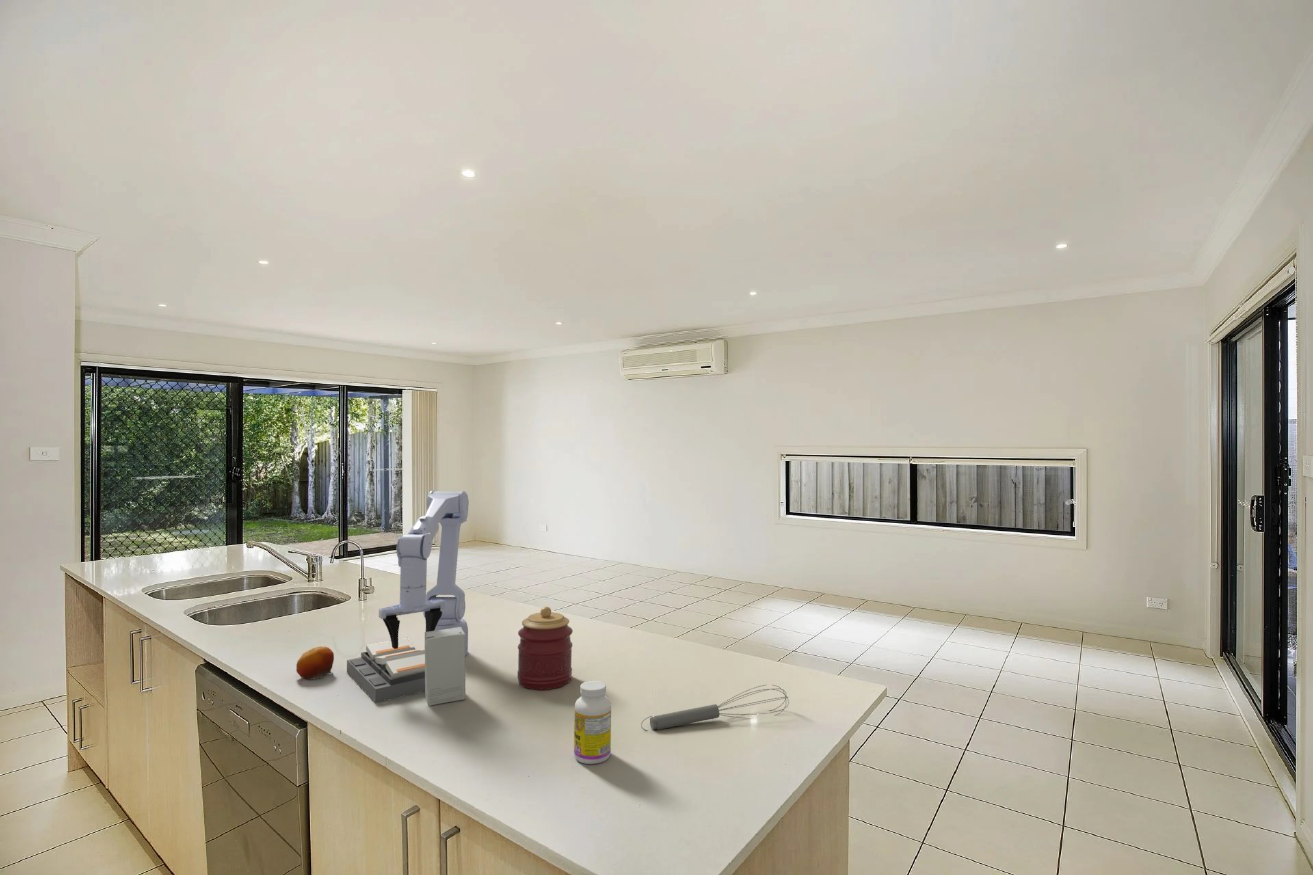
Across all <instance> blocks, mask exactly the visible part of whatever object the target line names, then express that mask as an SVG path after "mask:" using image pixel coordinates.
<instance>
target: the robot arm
mask: <svg viewBox="0 0 1313 875" xmlns="http://www.w3.org/2000/svg"><path fill="white" fill-rule="evenodd" d="M426 497H427V498H426V511H425V513H424V515H422V516H420V517H418V518H417V520H416V521H415V522H414V523H413V525H412V527H411V528H410V530H409V532H408V533H405V534H402V535H401V536H400V537H398V539H397V544H396V556H397V557H396V558H397V562H398V563H397V564H398V567H399V568H400V569H399V570H400V572H399V573H400V576H399V577H400V578H399V581H400V582H399V603H398V604H395V605H392V606H391V605H390V606H386V607H382V608H379V609H378V618H379V619H380V620H382V621H383V623H384V625H385V627H386V628H387V632H388V634H389V639H390V640H391V643H392V647H393V648H394V649H398V639H399V630H400V624H401V623H400V622H401V621H400V619H399V618H398V616H404V615H411V614H416V613H417V614H418V613H423V618H424V619H425V632H430V631H437V630H444V629H451V628H457V627H461V628H462V630H463V631H464V633H465V656H467V655H470V653H469V651H468V650H469V648H468V647H469V627H468V623H467V621H466V620H465V619H464V617H465V612H466V599H465V598H466V594H465V591H464V590H463V589H462V588H461V587H459V586H458V585H457V584H456V578H457V568H458V566H457V565H458V556H459V544H460V543H459V542H460V533H461V532H460V531H461V526H462V524H463V523H465V522H467V521H468V520H467V519H468V514H469V505H470V504H469V502H470V500H469V496H468V493H467V492H466V491H465V490H462V491H460V490H458V491H455V490H454V491H453V490H450V491H448V490H447V491H446V490H443V491H442V490H439V491H438V490H431V491H429V493H428V495H427V496H426ZM439 525H440V526H439ZM440 527H441V532H440V544H439V555H438V566H437V579H436V585H434V586H433V587H432V588H430V589H429V590H427V574H428V573H427V571H428V570H427V568H428V566H427V565H428V558H429V557H430V556H431V552H432V547H433V544H434V542H433V540H434V539H435V538H436V536H437V534H438V532H439V528H440Z"/></svg>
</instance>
